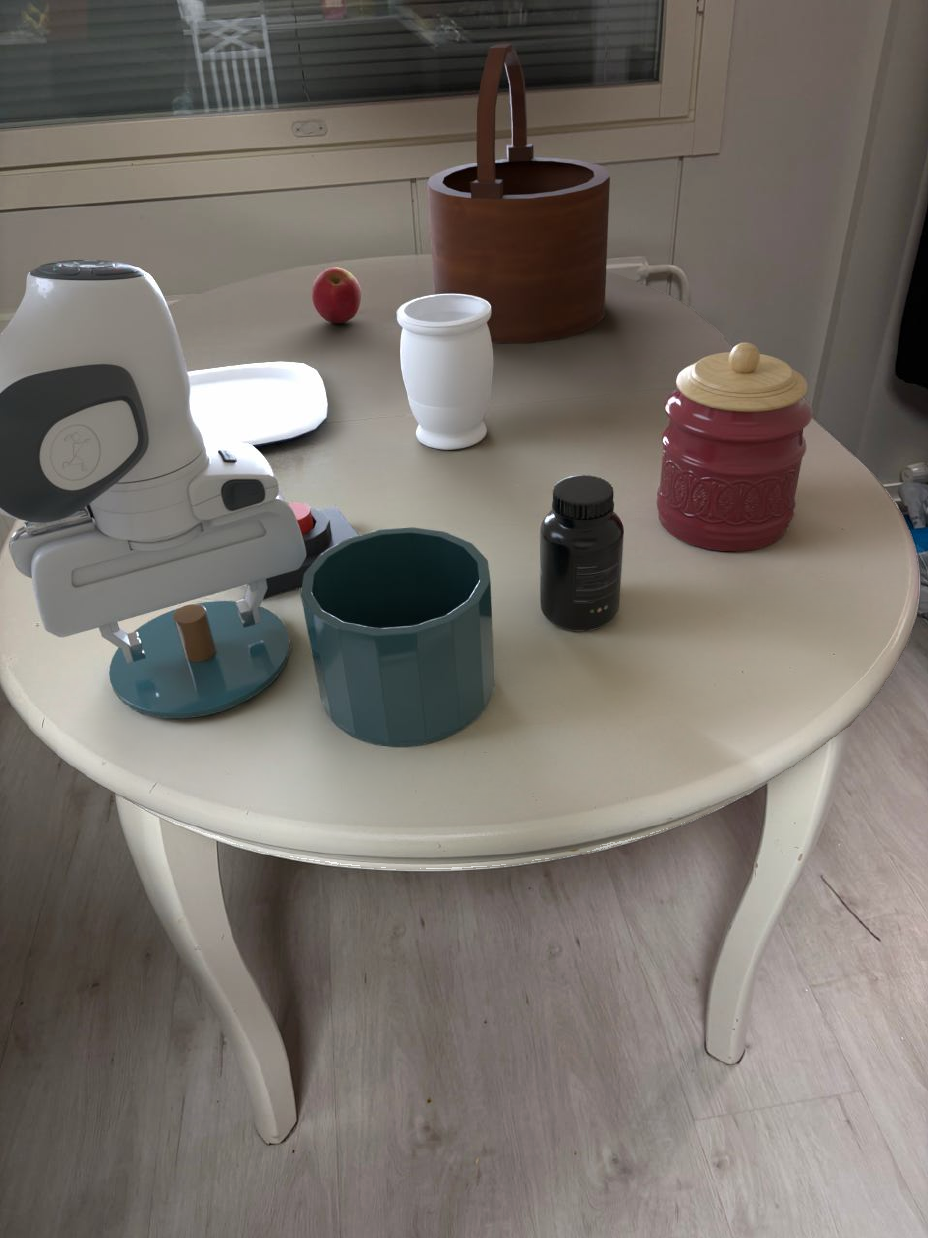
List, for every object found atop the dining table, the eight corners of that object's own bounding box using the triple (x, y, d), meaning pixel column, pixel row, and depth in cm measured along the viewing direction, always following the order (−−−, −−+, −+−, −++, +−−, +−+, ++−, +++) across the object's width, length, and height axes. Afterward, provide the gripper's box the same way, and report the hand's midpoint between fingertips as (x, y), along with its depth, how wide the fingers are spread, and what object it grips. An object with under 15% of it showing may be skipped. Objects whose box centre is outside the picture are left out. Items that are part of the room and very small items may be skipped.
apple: (306, 329, 141) (298, 275, 136) (328, 311, 147) (320, 259, 142) (352, 332, 139) (346, 277, 134) (372, 313, 145) (366, 261, 140)
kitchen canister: (631, 504, 94) (642, 333, 84) (738, 476, 98) (762, 309, 87) (703, 568, 84) (726, 384, 74) (820, 534, 88) (858, 354, 77)
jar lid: (128, 748, 69) (109, 696, 66) (101, 642, 80) (83, 593, 77) (314, 686, 74) (304, 635, 71) (265, 594, 85) (254, 546, 82)
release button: (281, 541, 85) (278, 525, 84) (270, 524, 87) (267, 508, 86) (318, 531, 86) (315, 515, 85) (306, 514, 89) (303, 498, 88)
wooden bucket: (613, 287, 149) (624, 30, 128) (594, 346, 129) (604, 53, 108) (458, 283, 154) (444, 37, 133) (416, 340, 135) (393, 60, 114)
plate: (114, 475, 105) (110, 462, 104) (131, 389, 125) (128, 377, 124) (336, 445, 108) (334, 431, 107) (318, 366, 128) (317, 354, 127)
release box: (257, 600, 84) (248, 564, 81) (232, 553, 90) (224, 518, 88) (370, 567, 87) (365, 530, 85) (338, 524, 94) (333, 489, 92)
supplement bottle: (526, 599, 82) (525, 479, 75) (594, 579, 84) (599, 460, 77) (563, 643, 77) (565, 518, 70) (634, 620, 79) (643, 496, 71)
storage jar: (357, 771, 66) (338, 657, 60) (300, 664, 76) (278, 557, 70) (524, 709, 71) (523, 597, 64) (449, 615, 81) (442, 511, 74)
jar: (496, 454, 105) (491, 322, 96) (404, 457, 105) (392, 326, 96) (494, 414, 113) (491, 289, 104) (410, 417, 113) (399, 294, 104)
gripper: (2, 548, 62) (66, 703, 70) (297, 473, 68) (323, 623, 76) (-4, 507, 66) (57, 657, 74) (273, 440, 73) (300, 585, 81)
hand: (194, 639), depth 75 cm, fingers open, 8 cm apart
